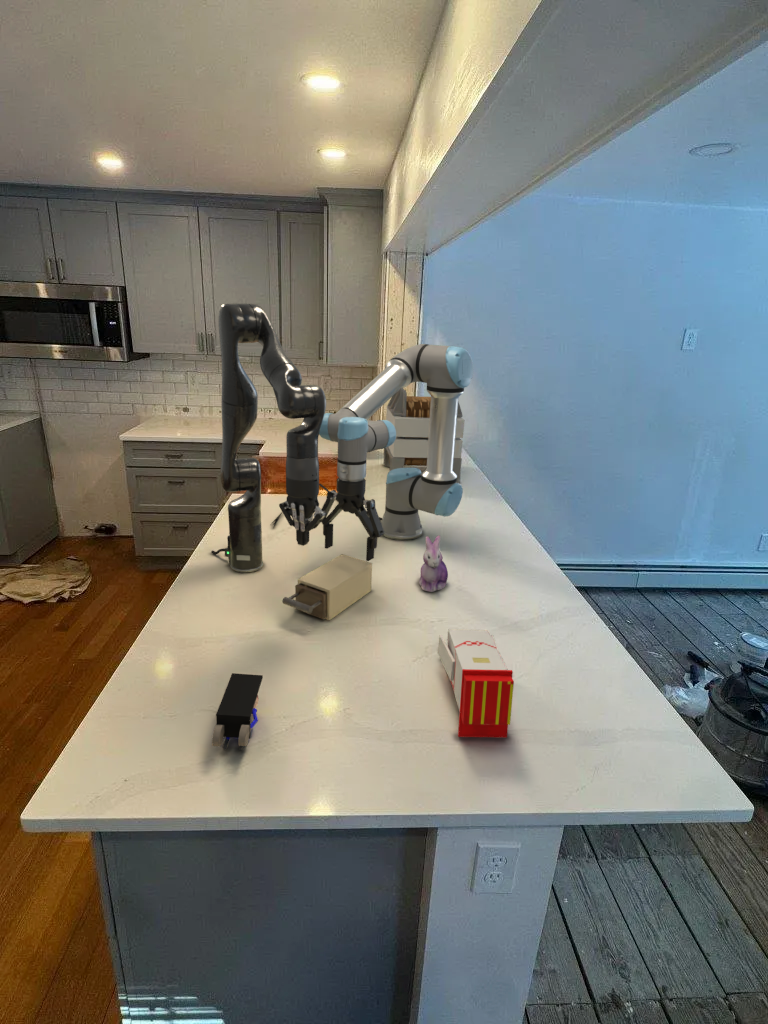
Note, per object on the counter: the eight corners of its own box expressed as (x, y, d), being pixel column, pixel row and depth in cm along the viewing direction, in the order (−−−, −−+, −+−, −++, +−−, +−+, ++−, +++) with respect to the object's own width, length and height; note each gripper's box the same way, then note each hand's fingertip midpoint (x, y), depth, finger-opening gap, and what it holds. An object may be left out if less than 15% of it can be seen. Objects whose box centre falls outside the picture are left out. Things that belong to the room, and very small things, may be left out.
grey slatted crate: (382, 463, 289) (386, 382, 275) (445, 464, 293) (451, 384, 279) (390, 482, 257) (394, 392, 243) (460, 483, 261) (468, 394, 247)
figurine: (428, 595, 157) (432, 546, 152) (409, 580, 166) (413, 532, 161) (456, 589, 161) (461, 541, 156) (437, 574, 170) (441, 528, 165)
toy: (488, 613, 130) (523, 677, 101) (484, 667, 133) (517, 744, 104) (435, 612, 130) (455, 676, 101) (432, 666, 133) (451, 743, 103)
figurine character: (250, 764, 99) (265, 700, 113) (248, 732, 96) (263, 671, 109) (212, 763, 99) (231, 699, 112) (208, 732, 96) (228, 670, 109)
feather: (289, 506, 225) (292, 502, 225) (272, 529, 199) (275, 525, 198) (286, 503, 225) (288, 500, 225) (268, 527, 199) (271, 522, 198)
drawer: (309, 628, 137) (309, 604, 135) (281, 617, 142) (280, 593, 139) (363, 591, 157) (364, 569, 154) (337, 582, 161) (337, 560, 159)
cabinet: (329, 620, 143) (329, 590, 140) (297, 608, 148) (297, 579, 145) (371, 590, 159) (372, 563, 156) (341, 581, 164) (341, 553, 161)
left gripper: (269, 472, 129) (271, 542, 135) (315, 483, 123) (315, 556, 129) (290, 465, 135) (291, 533, 141) (335, 475, 129) (334, 545, 135)
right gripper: (304, 472, 150) (304, 546, 157) (384, 490, 138) (380, 569, 145) (321, 466, 156) (320, 538, 163) (400, 483, 144) (395, 560, 151)
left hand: (302, 544), depth 135 cm, fingers closed
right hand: (348, 553), depth 154 cm, fingers open, 13 cm apart
